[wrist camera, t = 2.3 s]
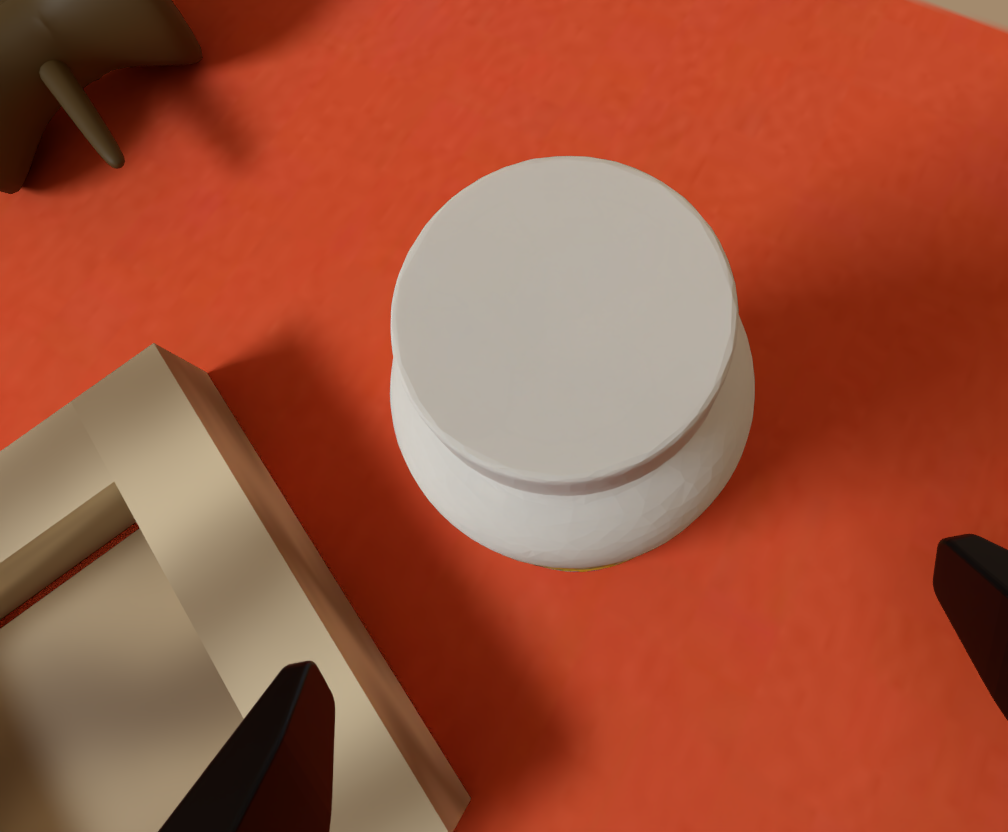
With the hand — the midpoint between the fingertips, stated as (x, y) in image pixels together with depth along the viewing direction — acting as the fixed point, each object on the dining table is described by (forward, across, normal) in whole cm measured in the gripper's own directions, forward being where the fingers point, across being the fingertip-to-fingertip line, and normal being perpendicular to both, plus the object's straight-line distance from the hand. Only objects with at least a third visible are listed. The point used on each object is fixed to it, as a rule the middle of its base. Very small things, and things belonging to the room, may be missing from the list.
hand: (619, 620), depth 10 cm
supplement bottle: (+11, 0, +5) cm, 12 cm away
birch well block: (+7, +16, +8) cm, 19 cm away
